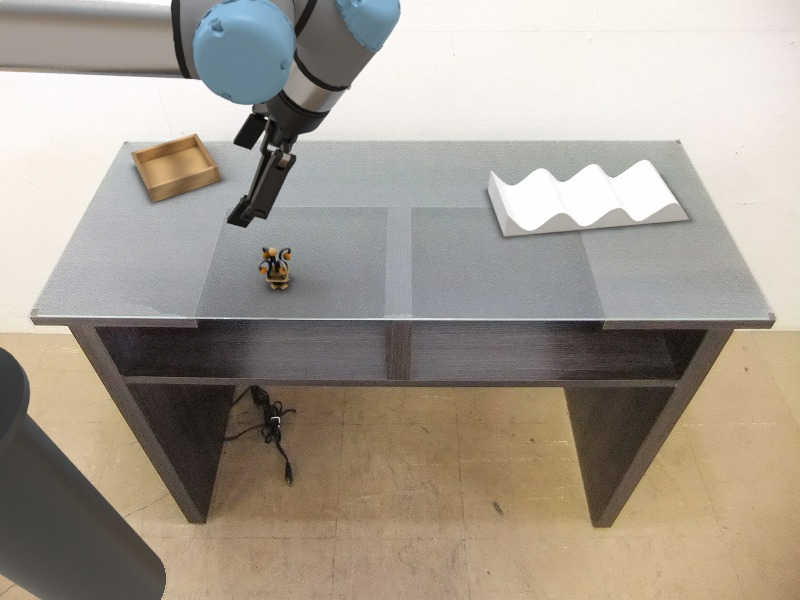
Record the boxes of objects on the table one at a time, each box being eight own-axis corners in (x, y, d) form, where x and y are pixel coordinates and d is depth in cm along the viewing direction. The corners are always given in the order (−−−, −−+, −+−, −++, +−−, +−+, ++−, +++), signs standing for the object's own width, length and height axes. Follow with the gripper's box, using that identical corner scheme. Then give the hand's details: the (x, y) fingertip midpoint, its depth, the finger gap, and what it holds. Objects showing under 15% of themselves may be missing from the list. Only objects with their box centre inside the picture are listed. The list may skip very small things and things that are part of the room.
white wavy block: (689, 219, 110) (699, 197, 106) (503, 236, 108) (507, 214, 104) (659, 176, 119) (668, 155, 115) (487, 191, 116) (490, 169, 112)
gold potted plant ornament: (260, 292, 99) (255, 258, 93) (265, 272, 102) (261, 237, 96) (288, 295, 99) (286, 260, 93) (293, 274, 102) (291, 239, 96)
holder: (153, 202, 115) (147, 189, 112) (135, 166, 122) (130, 152, 120) (221, 180, 119) (217, 166, 117) (200, 146, 127) (196, 133, 124)
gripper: (335, 186, 66) (260, 265, 82) (333, 26, 77) (267, 124, 92) (271, 164, 62) (205, 252, 78) (279, -1, 73) (220, 106, 88)
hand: (239, 183), depth 85 cm, fingers open, 13 cm apart
